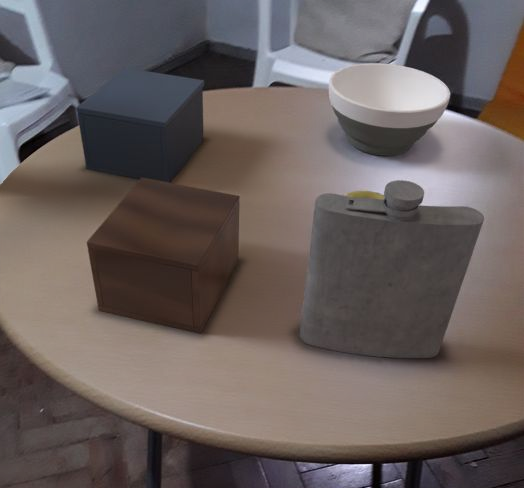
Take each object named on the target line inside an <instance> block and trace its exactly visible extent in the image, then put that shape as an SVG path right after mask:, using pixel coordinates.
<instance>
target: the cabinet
mask: <svg viewBox="0 0 524 488" xmlns="http://www.w3.org/2000/svg"><path fill="white" fill-rule="evenodd" d="M240 198H241V196H240V195H237V194H232V193H227V192H221V191H216V190H211V189H207V188H200V187H195V186H189V185H185V184H178V183H173V182H171V183H169V182H164V181H158V180H153V179H148V178H141V179H138V181H137V182H136V184H134V186H132V188H131V189H130V190H129V191H128V193H127V194H126V195H125V196H124V198H123V199H122V200H121V201H120V202H119V203H118V205H116V207H115V208H114V209H113V210H112V211H111V212H110V214H109V215H108V216H107V217H106V219H104V221H103V222H102V223H101V224H100V226H98V228H97V229H96V230H95V232H94V233H93V234H92V235H91V236H90V237H89V238H88V239H87V241H86V246H87V252H88V258H89V265H90V269H91V274H92V281H93V285H94V291H95V297H96V302H97V309H98V311H100V312H104V313H109V314H113V315H118V316H122V317H126V318H131V319H135V320H139V321H144V322H149V323H153V324H157V325H162V326H165V327H170V328H174V329H179V330H183V331H186V332H187V331H188V332H193V333H196V334H201V333H202V331H203V329H204V327H205V326H206V324H207V322H208V320H209V318H210V316H211V314H212V312H213V311H214V308H215V307H216V304H217V303H218V300H219V299H220V297H221V295H222V293H223V291H224V289H225V287H226V285H227V283H228V281H229V280H230V278H231V276H232V274H233V272H234V270H235V268H236V266H237V264H238V262H239V245H240V244H239V243H240V205H241V204H240Z"/></svg>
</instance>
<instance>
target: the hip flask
mask: <svg viewBox="0 0 524 488" xmlns="http://www.w3.org/2000/svg"><path fill="white" fill-rule="evenodd" d="M383 195H384V198H385V199H384V200H382V199H371V198H359V197H348V196H344V195H343V194H337V193H330V192H328V193H322V194H320V195H318V196H317V197H316V198H315V202H314V208H313V209H314V210H313V218H312V226H311V233H310V241H309V251H308V258H307V268H306V269H307V270H306V276H305V283H304V285H305V286H304V292H303V300H302V301H303V302H302V310H301V319H300V324H299V325H300V326H299V327H300V328H299V333H298V335H299V336H298V337H299V339H300V340H301V341H302V342H303V343H304V344H306V345H309V346H313V347H317V348H321V349H325V350H329V351H335V352H340V353H341V352H342V353H345V354H346V353H347V354H352V355H360V356H368V357H377V358H378V357H379V358H389V359H390V358H391V359H392V358H394V359H431V358H435V357H437V356H438V355H439V353H440V350H441V347H442V344H443V342H444V338H445V335H446V332H447V329H448V327H449V323H450V320H451V318H452V315H453V312H454V309H455V306H456V303H457V300H458V297H459V294H460V291H461V288H462V285H463V282H464V280H465V277H466V274H467V270H468V268H469V265H470V262H471V260H472V256H473V253H474V250H475V248H476V244H477V241H478V239H479V235H480V232H481V230H482V228H483V227H482V226H483V224H484V222H485V216H484V214H483V213H482V212H481V211H479V210H478V209H476V208H474V207H470V206H461V205H460V206H459V205H458V206H457V205H456V206H454V205H452V206H446V205H443V206H442V205H441V206H440V205H421V204H423V202H424V201H423V200H424V196H425V189H424V188H423V187H422V186H421V185H419V184H417V183H415V182H413V181H408V180H404V179H398V180H391V181H389V182H388V183H386V184H385V186H384V191H383Z"/></svg>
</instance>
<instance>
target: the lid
mask: <svg viewBox="0 0 524 488" xmlns="http://www.w3.org/2000/svg"><path fill="white" fill-rule="evenodd" d="M204 86H205V80H204V79H199V78H191V77H185V76H179V75H173V74H166V73H160V72H154V71H149V70H148V71H147V70H141V69H137V68H136V69H135V68H129V67H123V68H122V69H121V70H119V72H117V73H116V74H115V75H113V76H112V77H111V78H110V79H109V80H107V81H106V82H105V83H104V84H103V85H102V86H100V87H99V88H98V89H97V90H96V91H94V92H93V93H92V94H91V95H90V96H88V97H87V98H86V99H84V100H83V101H82V102H81V103H80V104H78V105H77V106H76V107H75V109H76V113H82V114H88V115H93V116H99V117H105V118H111V119H116V120H122V121H128V122H134V123H139V124H145V125H151V126H157V127H162V128H166V127H167V126H168V125H169V124H170V122H171V121H172V120H173V119H174V118H175V117H176V116H177V115H178V114H179V113H180V111H181V110H182V109H183V108H184V107H185V106H186V105H187V104H188V103H189V101H190V100H191V99H192V98H193V97H194V96H195V95H196V94H197V93H198V92H199V90H200V89H201V88H204Z"/></svg>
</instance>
